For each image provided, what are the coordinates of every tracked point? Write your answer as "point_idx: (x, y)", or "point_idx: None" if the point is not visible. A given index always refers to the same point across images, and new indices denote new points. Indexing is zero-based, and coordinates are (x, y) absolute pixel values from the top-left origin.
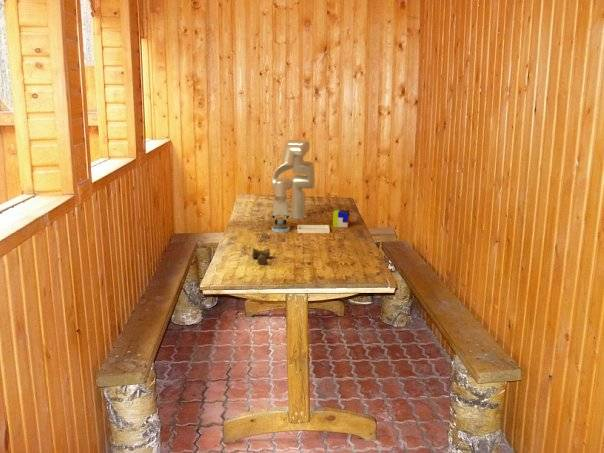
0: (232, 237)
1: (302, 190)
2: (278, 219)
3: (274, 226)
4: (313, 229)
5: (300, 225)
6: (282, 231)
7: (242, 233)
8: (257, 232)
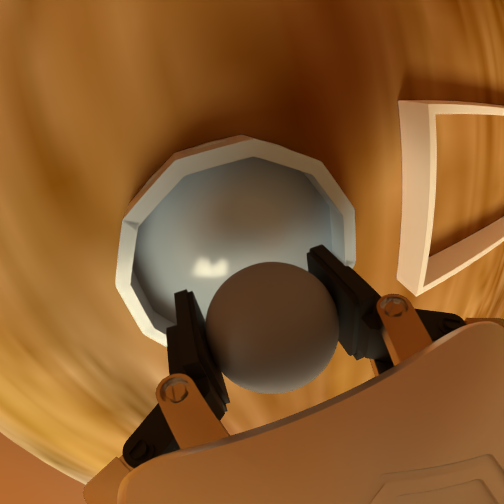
0: (46, 454)
1: None
2: (253, 388)
3: (134, 246)
4: (487, 251)
5: (445, 112)
6: None
7: (10, 405)
8: (58, 375)
